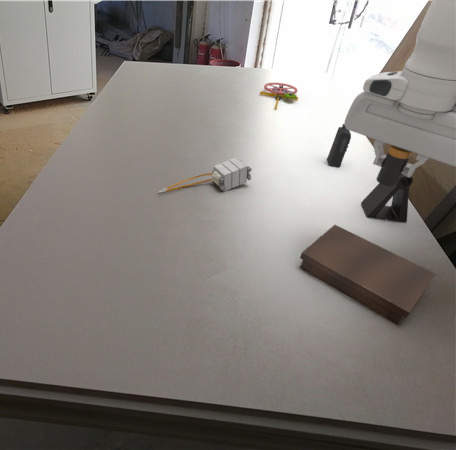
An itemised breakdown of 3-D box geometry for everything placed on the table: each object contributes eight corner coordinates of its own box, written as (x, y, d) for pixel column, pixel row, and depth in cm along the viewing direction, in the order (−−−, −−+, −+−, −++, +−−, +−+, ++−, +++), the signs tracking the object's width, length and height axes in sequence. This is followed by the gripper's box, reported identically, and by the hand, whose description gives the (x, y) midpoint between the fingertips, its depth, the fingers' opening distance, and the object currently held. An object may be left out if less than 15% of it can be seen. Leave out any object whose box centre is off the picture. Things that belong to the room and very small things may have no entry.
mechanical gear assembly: (298, 88, 171) (262, 84, 174) (301, 78, 168) (264, 74, 172) (296, 113, 148) (255, 108, 151) (299, 101, 145) (257, 97, 149)
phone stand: (398, 208, 100) (419, 165, 93) (406, 222, 95) (429, 178, 88) (360, 203, 101) (379, 160, 93) (366, 217, 96) (386, 173, 89)
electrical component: (168, 215, 98) (166, 199, 94) (157, 202, 102) (155, 186, 98) (251, 181, 103) (252, 165, 100) (238, 170, 108) (238, 154, 104)
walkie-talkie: (340, 168, 115) (366, 99, 103) (328, 166, 116) (353, 97, 104) (338, 160, 119) (362, 93, 107) (326, 158, 120) (349, 91, 108)
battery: (399, 182, 72) (417, 146, 68) (392, 188, 70) (409, 152, 66) (380, 174, 74) (396, 139, 70) (372, 180, 72) (388, 144, 68)
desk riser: (426, 288, 77) (436, 273, 75) (399, 328, 69) (409, 312, 67) (329, 238, 88) (334, 224, 86) (296, 267, 80) (301, 252, 78)
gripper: (511, 106, 58) (463, 188, 67) (371, 71, 70) (345, 144, 78) (501, 116, 55) (451, 201, 63) (355, 77, 66) (329, 154, 74)
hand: (391, 169), depth 71 cm, fingers closed on battery, 3 cm apart
